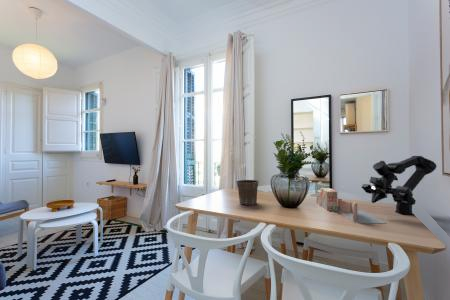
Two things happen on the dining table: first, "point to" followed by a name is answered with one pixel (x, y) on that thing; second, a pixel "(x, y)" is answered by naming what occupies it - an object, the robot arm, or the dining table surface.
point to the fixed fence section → (344, 206)
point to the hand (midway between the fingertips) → (372, 202)
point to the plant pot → (247, 191)
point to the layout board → (362, 217)
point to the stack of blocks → (327, 198)
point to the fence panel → (354, 211)
